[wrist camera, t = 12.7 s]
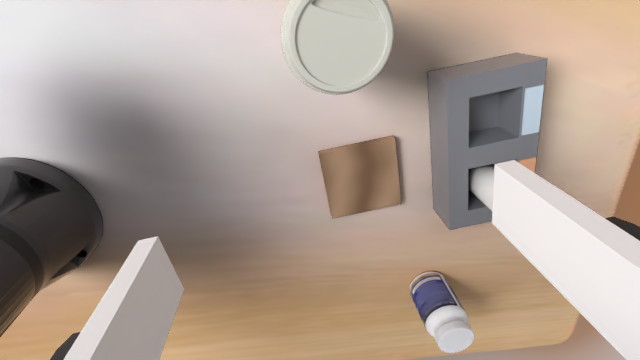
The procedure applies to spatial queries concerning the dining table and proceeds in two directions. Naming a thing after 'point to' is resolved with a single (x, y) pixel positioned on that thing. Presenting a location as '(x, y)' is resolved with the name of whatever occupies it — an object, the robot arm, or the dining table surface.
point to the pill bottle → (441, 312)
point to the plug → (482, 183)
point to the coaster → (361, 176)
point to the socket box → (481, 127)
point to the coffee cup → (337, 42)
